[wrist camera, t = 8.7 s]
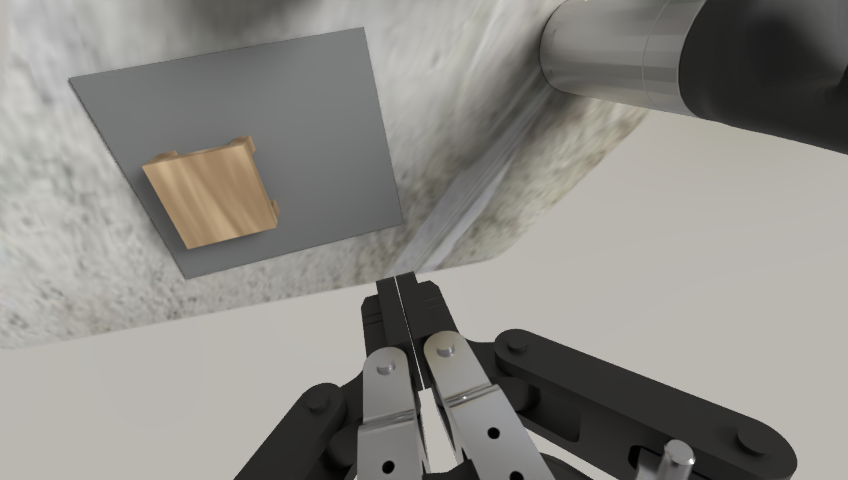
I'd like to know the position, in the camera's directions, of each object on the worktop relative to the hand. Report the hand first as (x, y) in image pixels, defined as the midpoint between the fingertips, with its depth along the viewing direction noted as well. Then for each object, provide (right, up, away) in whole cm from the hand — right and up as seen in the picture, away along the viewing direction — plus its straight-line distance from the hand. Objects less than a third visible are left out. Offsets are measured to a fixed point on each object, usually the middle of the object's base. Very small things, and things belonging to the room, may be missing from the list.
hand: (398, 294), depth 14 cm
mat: (-14, +10, +22) cm, 28 cm away
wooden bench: (-14, +8, +21) cm, 26 cm away
